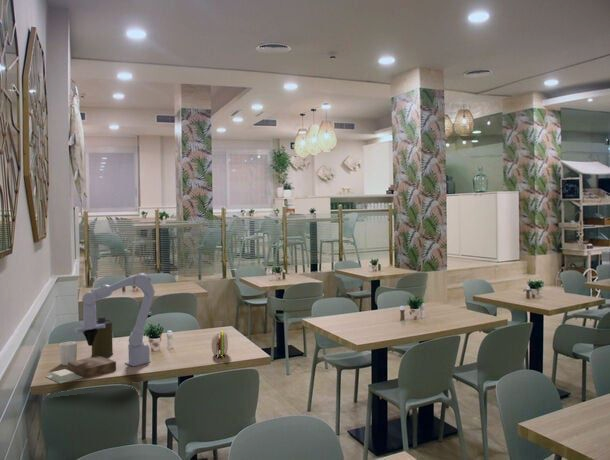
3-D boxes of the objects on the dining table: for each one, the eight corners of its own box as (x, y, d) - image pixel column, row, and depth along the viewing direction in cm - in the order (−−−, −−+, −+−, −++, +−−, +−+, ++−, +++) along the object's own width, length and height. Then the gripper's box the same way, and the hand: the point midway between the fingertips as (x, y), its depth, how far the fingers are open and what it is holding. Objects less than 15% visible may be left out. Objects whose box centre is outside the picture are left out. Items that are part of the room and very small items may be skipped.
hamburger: (212, 352, 271) (211, 330, 271) (228, 352, 272) (227, 329, 272) (211, 359, 259) (210, 335, 259) (227, 358, 261) (227, 334, 260)
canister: (114, 356, 265) (113, 317, 265) (92, 359, 260) (92, 319, 260) (111, 351, 275) (110, 314, 274) (90, 354, 270) (89, 316, 269)
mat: (68, 371, 240) (68, 371, 240) (82, 377, 231) (82, 377, 231) (46, 377, 232) (46, 376, 232) (60, 383, 223) (60, 382, 223)
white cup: (60, 366, 248) (59, 346, 247) (59, 362, 255) (58, 342, 254) (78, 364, 252) (77, 344, 251) (76, 360, 258) (76, 340, 258)
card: (51, 372, 232) (51, 376, 232) (61, 376, 226) (61, 380, 226) (65, 369, 236) (65, 373, 236) (74, 372, 230) (74, 377, 231)
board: (98, 363, 252) (98, 355, 252) (116, 369, 242) (115, 361, 242) (68, 371, 241) (67, 362, 241) (85, 377, 231) (84, 369, 230)
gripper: (99, 313, 255) (100, 341, 255) (70, 318, 243) (71, 347, 244) (107, 315, 250) (107, 343, 250) (78, 320, 239) (78, 349, 239)
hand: (90, 345), depth 247 cm, fingers closed
